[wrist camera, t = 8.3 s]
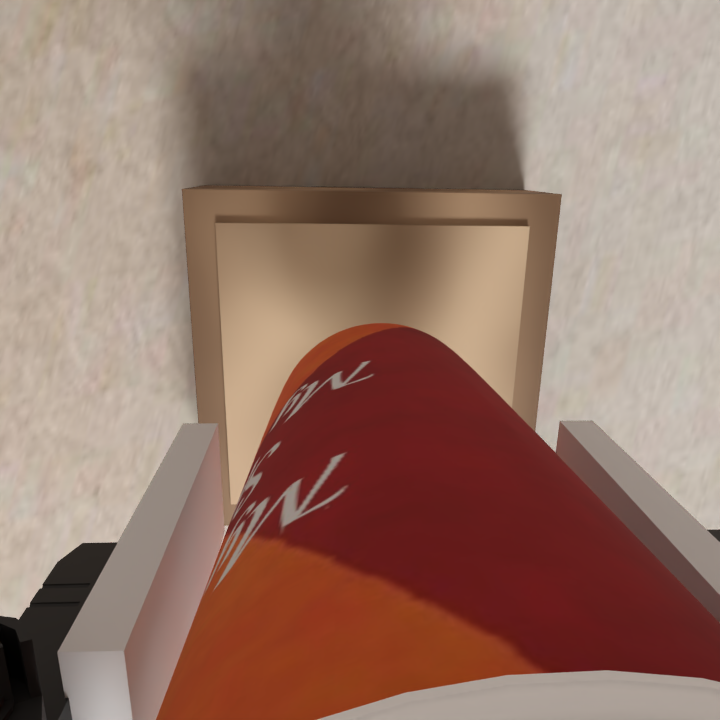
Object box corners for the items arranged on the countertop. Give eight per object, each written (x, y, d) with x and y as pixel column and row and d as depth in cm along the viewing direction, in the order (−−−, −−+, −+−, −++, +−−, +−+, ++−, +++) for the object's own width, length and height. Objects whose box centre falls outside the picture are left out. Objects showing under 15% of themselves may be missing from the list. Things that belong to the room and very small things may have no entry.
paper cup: (240, 272, 15) (-328, 969, 2) (536, 290, 16) (1620, 933, 3) (237, 538, 18) (-36, 1669, 4) (495, 546, 18) (948, 1571, 5)
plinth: (524, 190, 23) (563, 194, 19) (498, 472, 27) (526, 524, 23) (205, 185, 22) (180, 189, 19) (222, 475, 26) (204, 528, 22)
